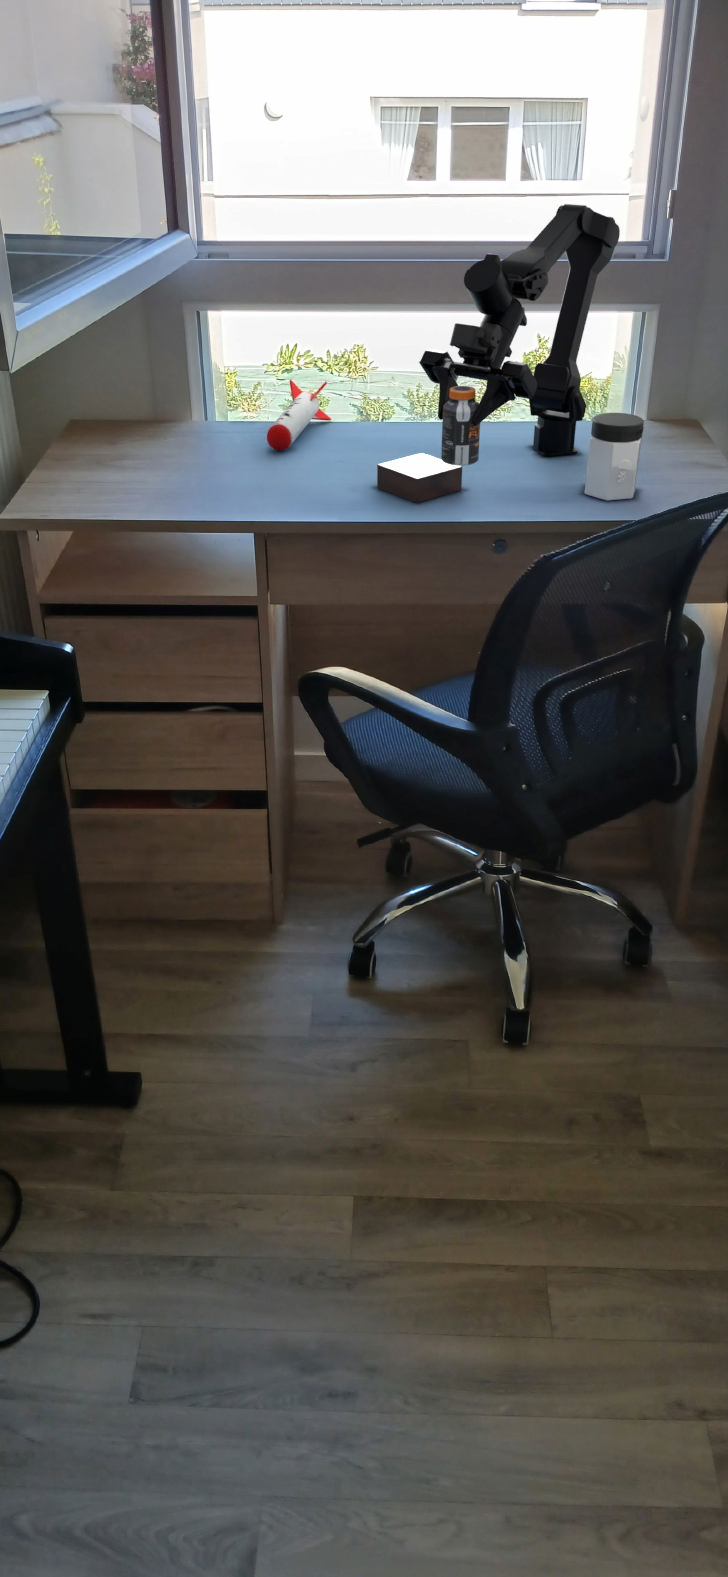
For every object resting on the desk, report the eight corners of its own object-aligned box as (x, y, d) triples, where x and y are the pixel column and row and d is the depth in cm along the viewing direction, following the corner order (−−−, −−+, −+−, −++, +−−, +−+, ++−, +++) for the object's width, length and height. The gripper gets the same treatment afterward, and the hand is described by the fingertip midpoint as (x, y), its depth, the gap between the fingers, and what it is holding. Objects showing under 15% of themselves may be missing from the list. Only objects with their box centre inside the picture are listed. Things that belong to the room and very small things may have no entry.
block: (421, 475, 198) (422, 452, 196) (461, 489, 192) (462, 466, 190) (377, 487, 193) (377, 464, 191) (416, 503, 187) (417, 478, 185)
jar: (594, 502, 186) (602, 427, 180) (575, 486, 193) (582, 413, 187) (645, 498, 188) (655, 423, 182) (625, 482, 195) (633, 410, 188)
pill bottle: (474, 467, 181) (477, 393, 174) (437, 464, 182) (439, 391, 176) (481, 456, 185) (485, 384, 179) (445, 453, 187) (448, 381, 181)
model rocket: (237, 439, 210) (270, 400, 204) (274, 397, 228) (305, 361, 222) (281, 480, 212) (315, 444, 207) (315, 436, 230) (347, 401, 225)
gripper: (426, 293, 178) (386, 382, 177) (533, 307, 169) (491, 400, 168) (452, 337, 188) (413, 422, 186) (554, 352, 179) (515, 441, 177)
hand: (456, 420), depth 179 cm, fingers closed on pill bottle, 6 cm apart
